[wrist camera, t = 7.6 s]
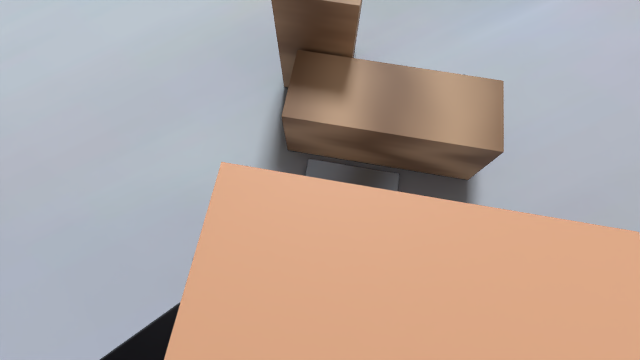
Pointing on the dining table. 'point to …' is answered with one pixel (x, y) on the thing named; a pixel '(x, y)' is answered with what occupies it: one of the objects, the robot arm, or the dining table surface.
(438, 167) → the structure
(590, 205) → the dining table surface
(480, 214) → the post
